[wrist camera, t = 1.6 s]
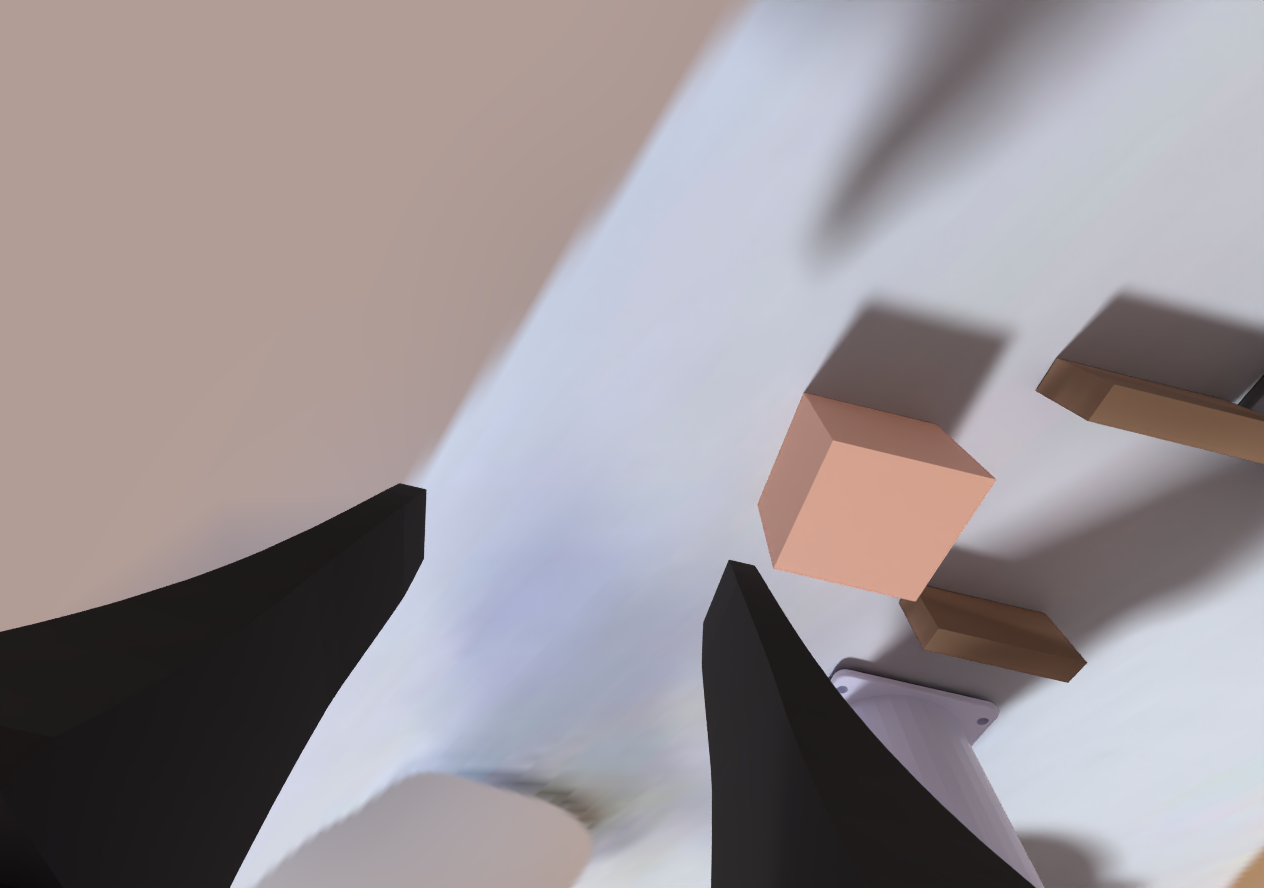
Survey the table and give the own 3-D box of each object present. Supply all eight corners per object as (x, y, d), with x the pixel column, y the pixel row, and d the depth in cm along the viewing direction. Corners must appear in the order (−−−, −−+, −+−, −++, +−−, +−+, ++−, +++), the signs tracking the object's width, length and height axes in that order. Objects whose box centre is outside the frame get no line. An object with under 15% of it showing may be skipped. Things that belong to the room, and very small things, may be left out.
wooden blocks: (1029, 633, 22) (1067, 682, 20) (898, 602, 22) (923, 649, 20) (1225, 400, 17) (1308, 432, 15) (1056, 358, 17) (1114, 384, 15)
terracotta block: (874, 530, 21) (915, 601, 17) (757, 502, 21) (773, 568, 17) (935, 423, 18) (996, 479, 15) (802, 390, 18) (832, 440, 15)
